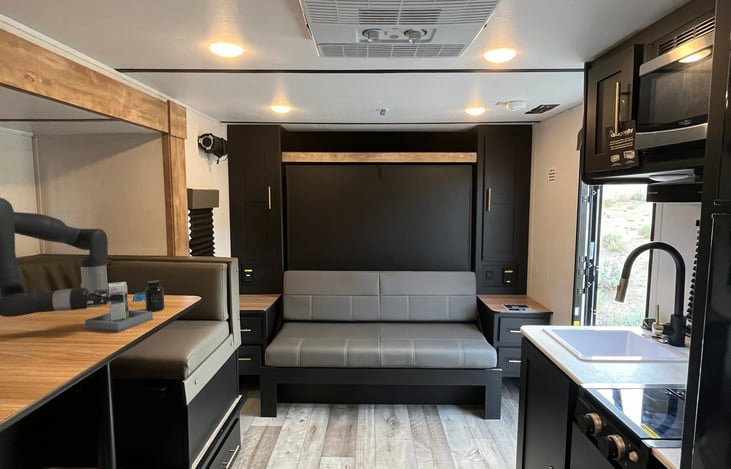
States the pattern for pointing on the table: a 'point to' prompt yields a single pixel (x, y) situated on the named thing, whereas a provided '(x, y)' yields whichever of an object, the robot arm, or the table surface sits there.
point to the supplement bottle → (154, 296)
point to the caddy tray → (106, 324)
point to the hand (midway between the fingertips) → (124, 294)
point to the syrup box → (119, 302)
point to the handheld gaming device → (139, 297)
